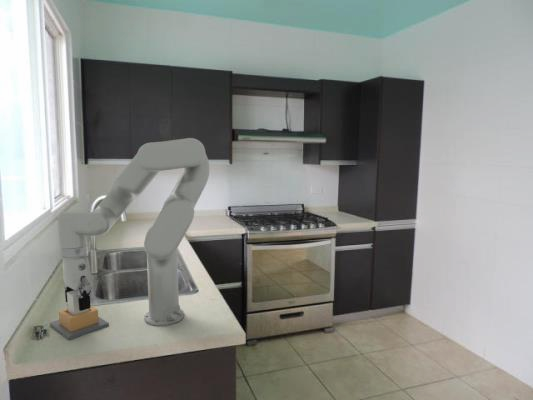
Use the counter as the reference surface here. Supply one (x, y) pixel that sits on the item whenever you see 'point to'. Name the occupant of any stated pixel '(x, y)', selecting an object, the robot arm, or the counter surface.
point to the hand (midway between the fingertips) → (78, 305)
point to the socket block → (78, 323)
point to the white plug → (74, 303)
